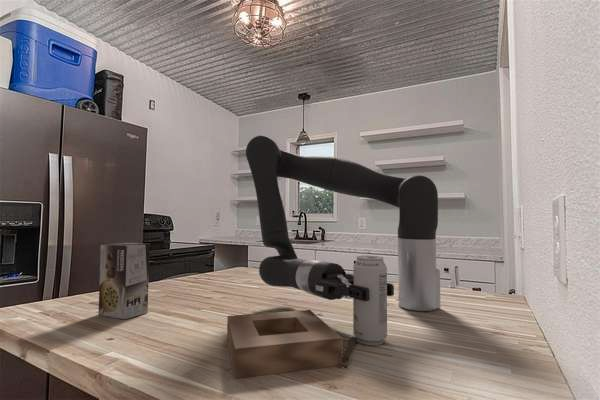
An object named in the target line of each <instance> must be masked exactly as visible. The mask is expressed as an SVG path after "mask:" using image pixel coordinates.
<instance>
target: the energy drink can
mask: <svg viewBox="0 0 600 400" xmlns="http://www.w3.org/2000/svg"><path fill="white" fill-rule="evenodd" d="M384 261H385V260H384V257H383V256H379V255H358V256H356V261H355V263H353V269H352V270H353V273H352V274H353V285H357V286H361V287H366V288H368V289H369V301H362V300H358V299H354V298H352V300H353V304H352V305H353V309H352V311H353V312H352V314H353V317H352V318H353V322H352V323H353V324H352V326H353V329H352V330H353V331H352V333H353V337H354V338H355V337H356V342H358V343H360V344H363V345H367V346H380V345H382V344H384V342H385V340H386V339H387V338H388V296H387V283H388V268H387V264H386V263H385V262H384Z"/></svg>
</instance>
